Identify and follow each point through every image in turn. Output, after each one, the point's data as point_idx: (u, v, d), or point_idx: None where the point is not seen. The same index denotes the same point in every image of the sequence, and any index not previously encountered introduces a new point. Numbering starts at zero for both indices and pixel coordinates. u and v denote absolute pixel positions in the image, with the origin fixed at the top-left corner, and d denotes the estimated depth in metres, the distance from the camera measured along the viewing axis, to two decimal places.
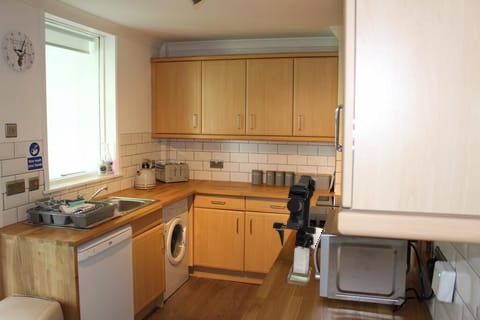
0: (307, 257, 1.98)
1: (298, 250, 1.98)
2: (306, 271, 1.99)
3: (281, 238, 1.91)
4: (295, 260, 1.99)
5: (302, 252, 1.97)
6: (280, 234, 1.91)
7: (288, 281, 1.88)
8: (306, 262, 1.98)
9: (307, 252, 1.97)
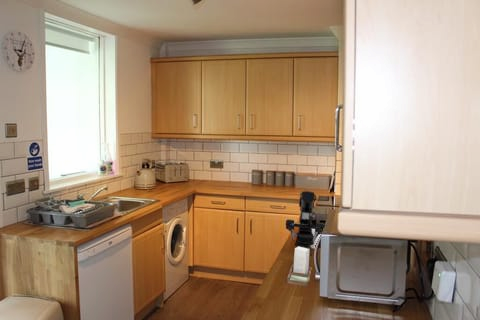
0: (307, 257, 1.98)
1: (298, 250, 1.98)
2: (306, 271, 1.99)
3: (293, 233, 2.06)
4: (295, 260, 1.99)
5: (302, 252, 1.97)
6: (292, 229, 2.07)
7: (288, 281, 1.88)
8: (306, 262, 1.97)
9: (307, 252, 1.97)
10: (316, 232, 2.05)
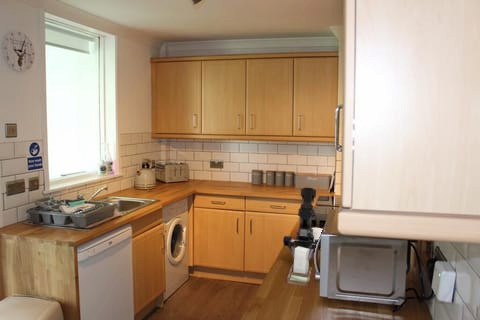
0: (307, 257, 1.98)
1: (298, 250, 1.98)
2: (306, 271, 1.99)
3: (293, 250, 2.00)
4: (295, 260, 1.99)
5: (302, 252, 1.97)
6: (292, 247, 2.01)
7: (288, 281, 1.88)
8: (306, 262, 1.97)
9: (307, 252, 1.97)
10: (312, 249, 1.99)
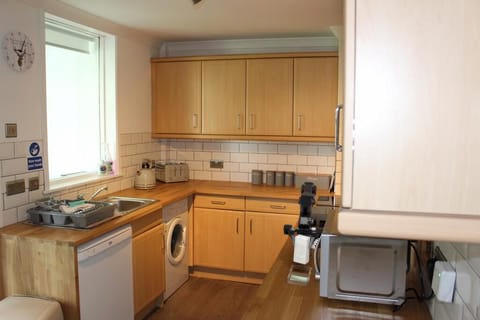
0: (308, 246, 1.94)
1: (299, 238, 1.95)
2: (307, 260, 1.95)
3: (293, 239, 1.97)
4: (295, 248, 1.96)
5: (303, 241, 1.93)
6: (292, 235, 1.98)
7: (288, 281, 1.88)
8: (307, 250, 1.94)
9: (308, 240, 1.94)
10: (313, 237, 1.96)
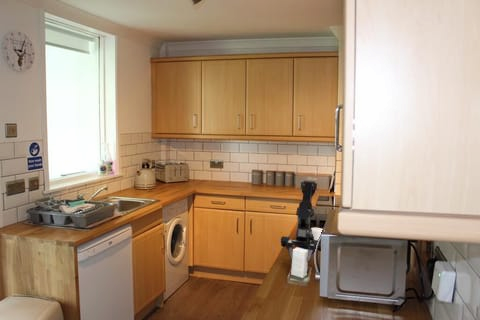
0: (306, 259, 1.89)
1: (296, 251, 1.89)
2: (305, 273, 1.90)
3: (291, 252, 1.92)
4: (293, 261, 1.91)
5: (301, 254, 1.88)
6: (290, 248, 1.92)
7: (288, 281, 1.88)
8: (305, 264, 1.89)
9: (306, 253, 1.89)
10: (311, 250, 1.90)
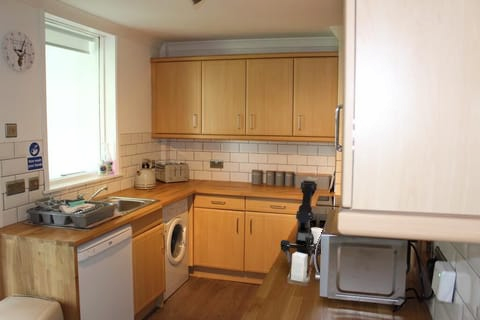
0: (305, 263, 1.90)
1: (296, 256, 1.90)
2: (304, 278, 1.91)
3: (288, 255, 1.92)
4: (292, 266, 1.91)
5: (300, 258, 1.89)
6: (287, 251, 1.93)
7: (288, 281, 1.88)
8: (304, 268, 1.89)
9: (305, 258, 1.89)
10: (313, 254, 1.90)
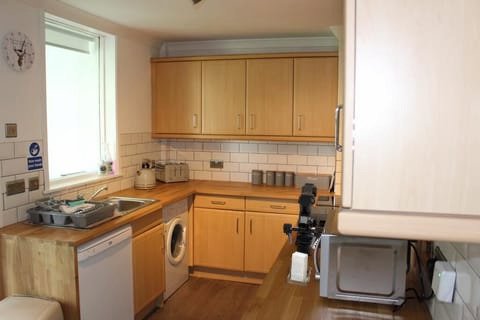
0: (305, 263, 1.90)
1: (296, 256, 1.90)
2: (304, 278, 1.91)
3: (290, 237, 1.99)
4: (292, 266, 1.91)
5: (300, 258, 1.89)
6: (290, 234, 2.00)
7: (288, 281, 1.88)
8: (304, 268, 1.89)
9: (305, 258, 1.89)
10: (314, 237, 1.97)
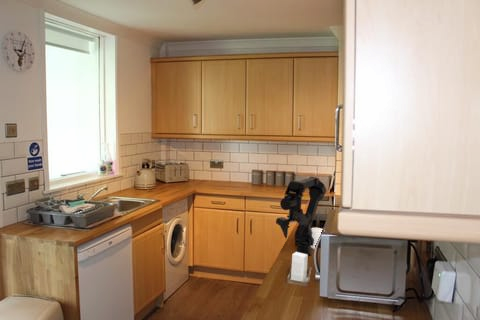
0: (305, 263, 1.90)
1: (296, 256, 1.90)
2: (304, 278, 1.91)
3: (286, 232, 2.08)
4: (292, 266, 1.91)
5: (300, 258, 1.89)
6: (286, 229, 2.07)
7: (288, 281, 1.88)
8: (304, 268, 1.89)
9: (305, 258, 1.89)
10: (304, 226, 2.13)
